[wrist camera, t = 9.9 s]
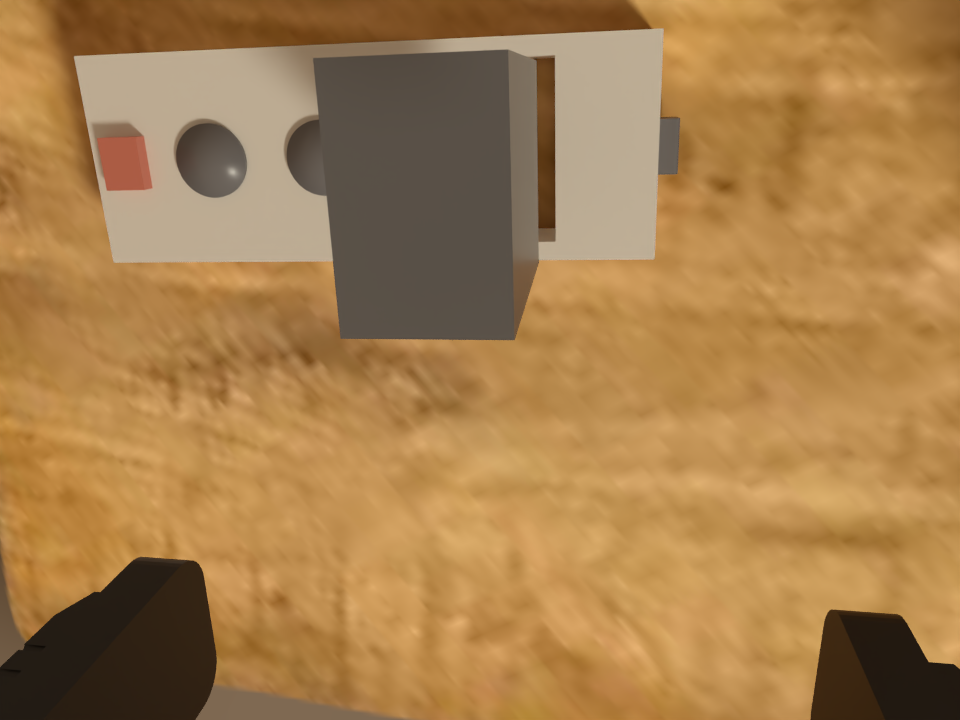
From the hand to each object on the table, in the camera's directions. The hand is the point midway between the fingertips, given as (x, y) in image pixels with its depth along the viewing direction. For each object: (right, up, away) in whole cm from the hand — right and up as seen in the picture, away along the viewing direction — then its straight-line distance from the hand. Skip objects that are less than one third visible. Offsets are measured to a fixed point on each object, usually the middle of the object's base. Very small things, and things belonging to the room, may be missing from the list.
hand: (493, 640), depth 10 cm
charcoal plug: (0, +10, +14) cm, 17 cm away
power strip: (-4, +12, +22) cm, 26 cm away
